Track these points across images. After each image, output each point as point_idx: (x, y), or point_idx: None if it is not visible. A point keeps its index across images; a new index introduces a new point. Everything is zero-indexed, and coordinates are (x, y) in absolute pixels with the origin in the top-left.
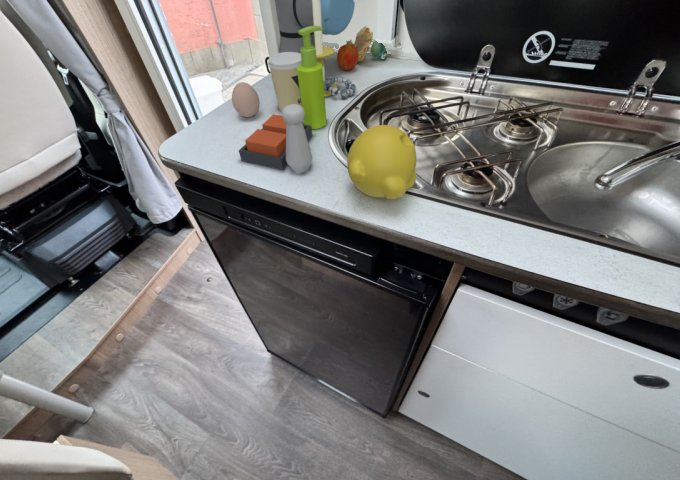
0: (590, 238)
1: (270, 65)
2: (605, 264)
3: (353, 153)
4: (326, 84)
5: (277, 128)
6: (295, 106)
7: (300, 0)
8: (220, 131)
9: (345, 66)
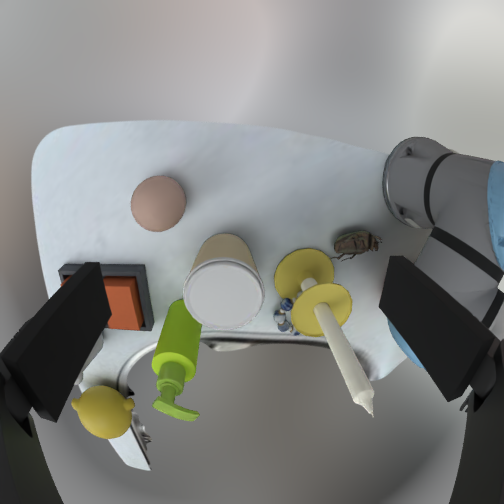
0: (148, 458)
1: (188, 277)
2: (134, 457)
3: (80, 408)
4: (285, 306)
5: None
6: None
7: (446, 267)
8: (102, 181)
9: None
